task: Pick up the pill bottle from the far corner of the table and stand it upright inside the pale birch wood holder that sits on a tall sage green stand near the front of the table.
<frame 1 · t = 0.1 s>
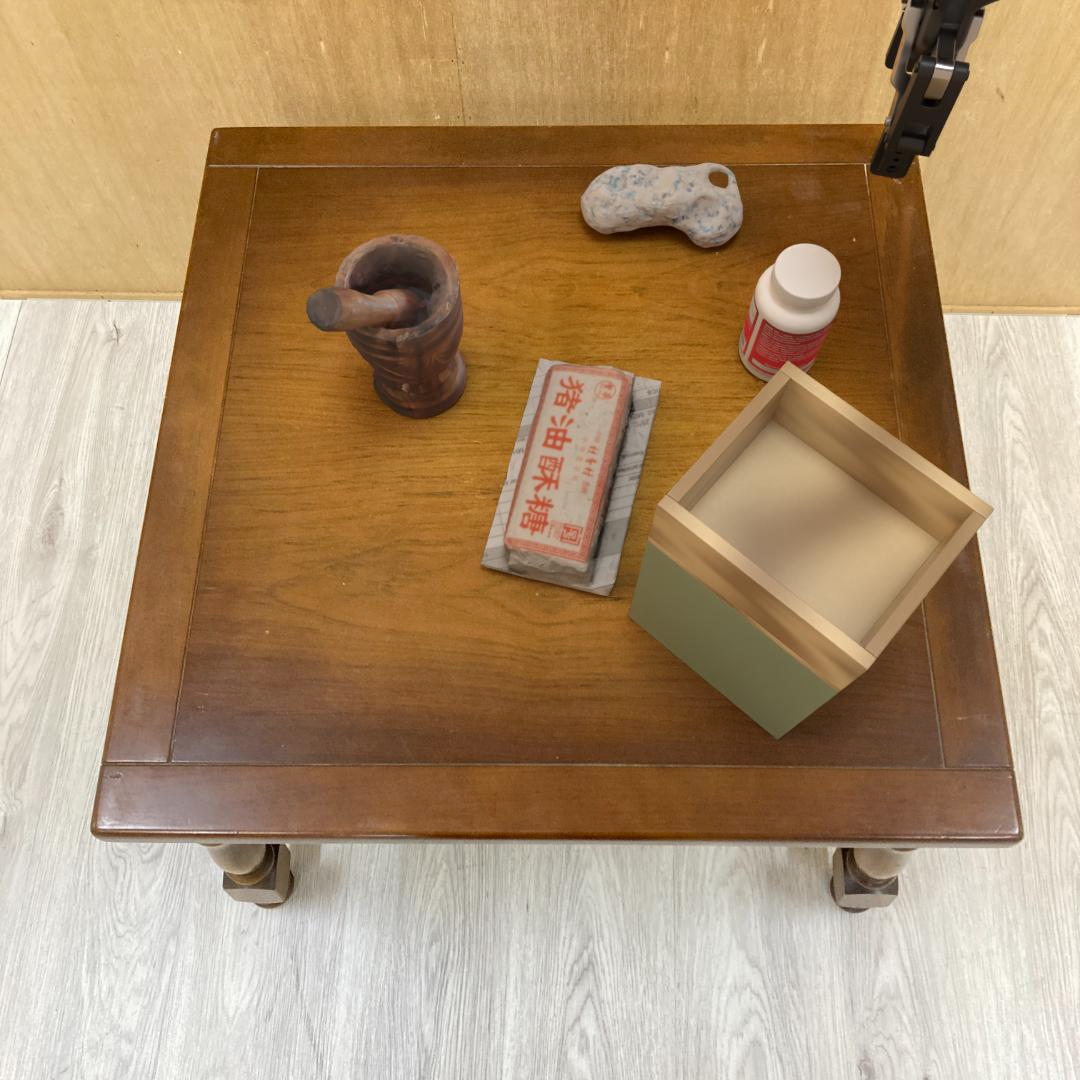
hand: (893, 118, 63), 21 cm above the table, tool pointing down, fingers open, 8 cm apart
decorative stone: (659, 225, 87), on the table
holder: (801, 542, 59), resting on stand
pill bottle: (774, 353, 82), on the table
packaged product: (574, 478, 78), on the table
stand: (750, 618, 74), on the table
mortar and pestle: (416, 397, 81), on the table
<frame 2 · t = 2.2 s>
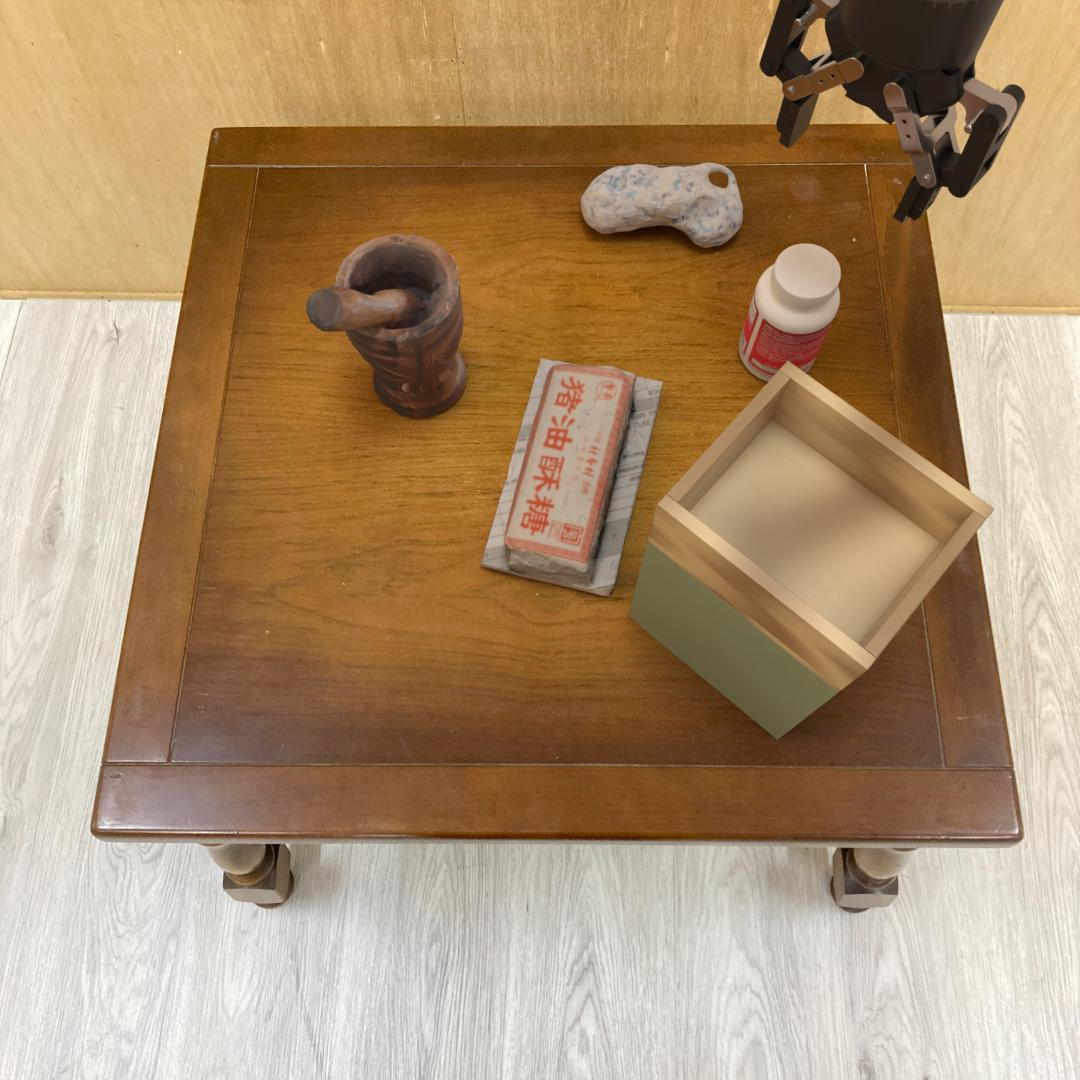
hand: (848, 174, 63), 21 cm above the table, tool pointing down, fingers open, 8 cm apart
nothing on the table moved.
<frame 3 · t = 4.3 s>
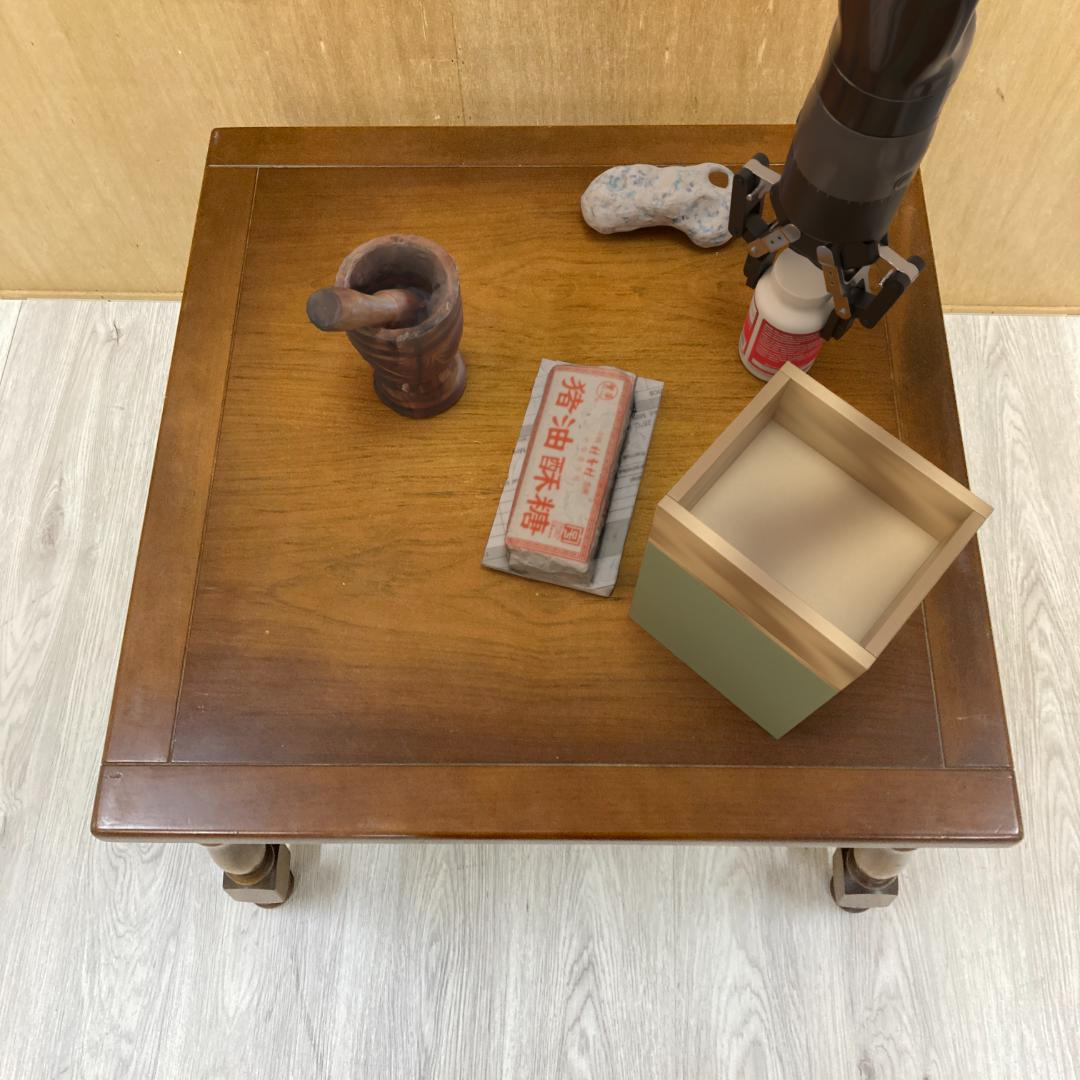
hand: (793, 305, 76), 7 cm above the table, tool pointing down, fingers closed on pill bottle, 6 cm apart
pill bottle: (774, 353, 82), on the table, touching gripper
everything else where it was.
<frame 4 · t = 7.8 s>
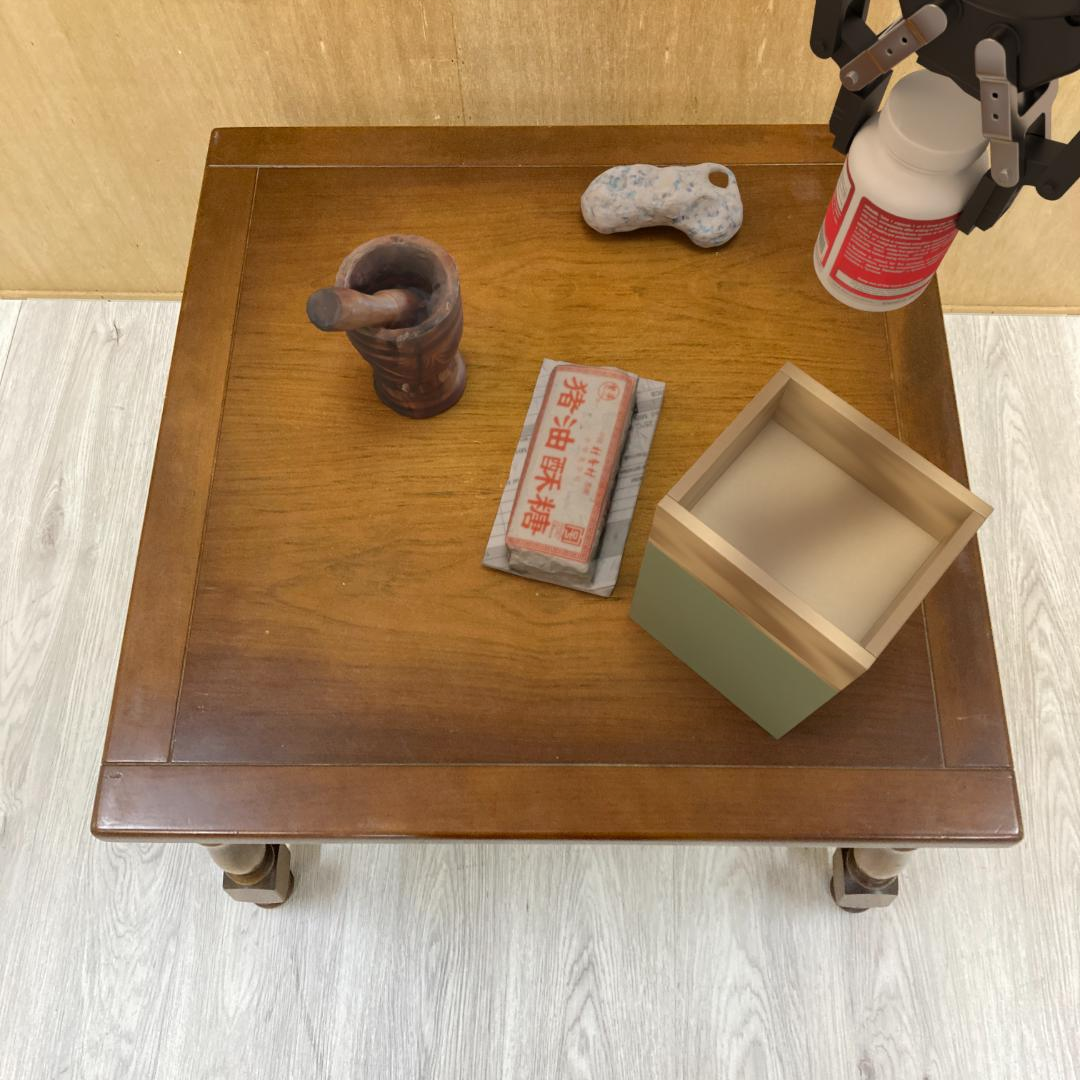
hand: (909, 179, 47), 33 cm above the table, tool pointing down, fingers closed on pill bottle, 6 cm apart
pill bottle: (868, 268, 54), point 26 cm above the table, touching gripper
everything else where it was.
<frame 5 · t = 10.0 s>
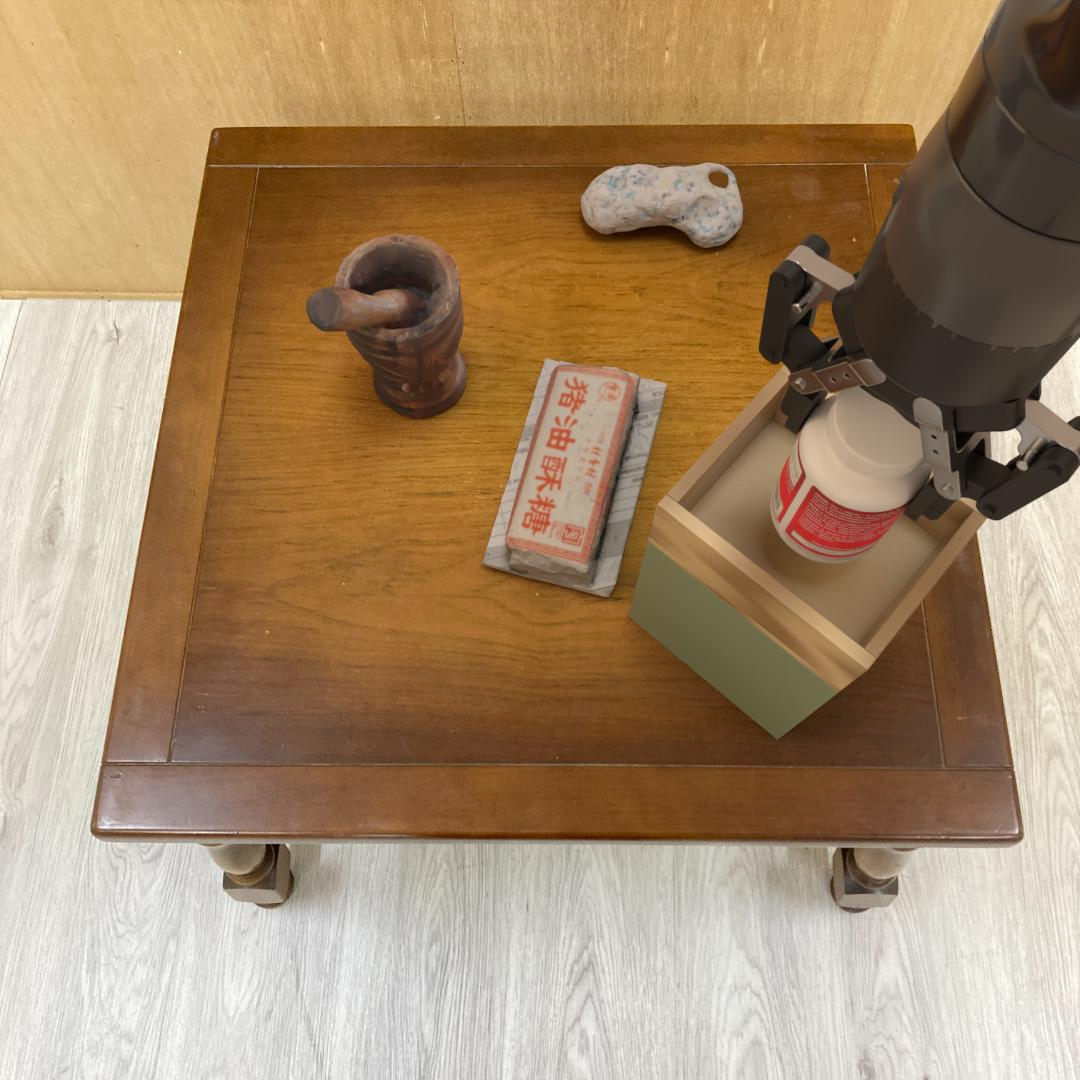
hand: (859, 459, 48), 28 cm above the table, tool pointing down, fingers closed on pill bottle, 6 cm apart
pill bottle: (824, 514, 55), point 21 cm above the table, touching gripper
everything else where it was.
when the fingers open (23 cm above the table, at t = 11.7 s): pill bottle stays where it is, resting on holder.
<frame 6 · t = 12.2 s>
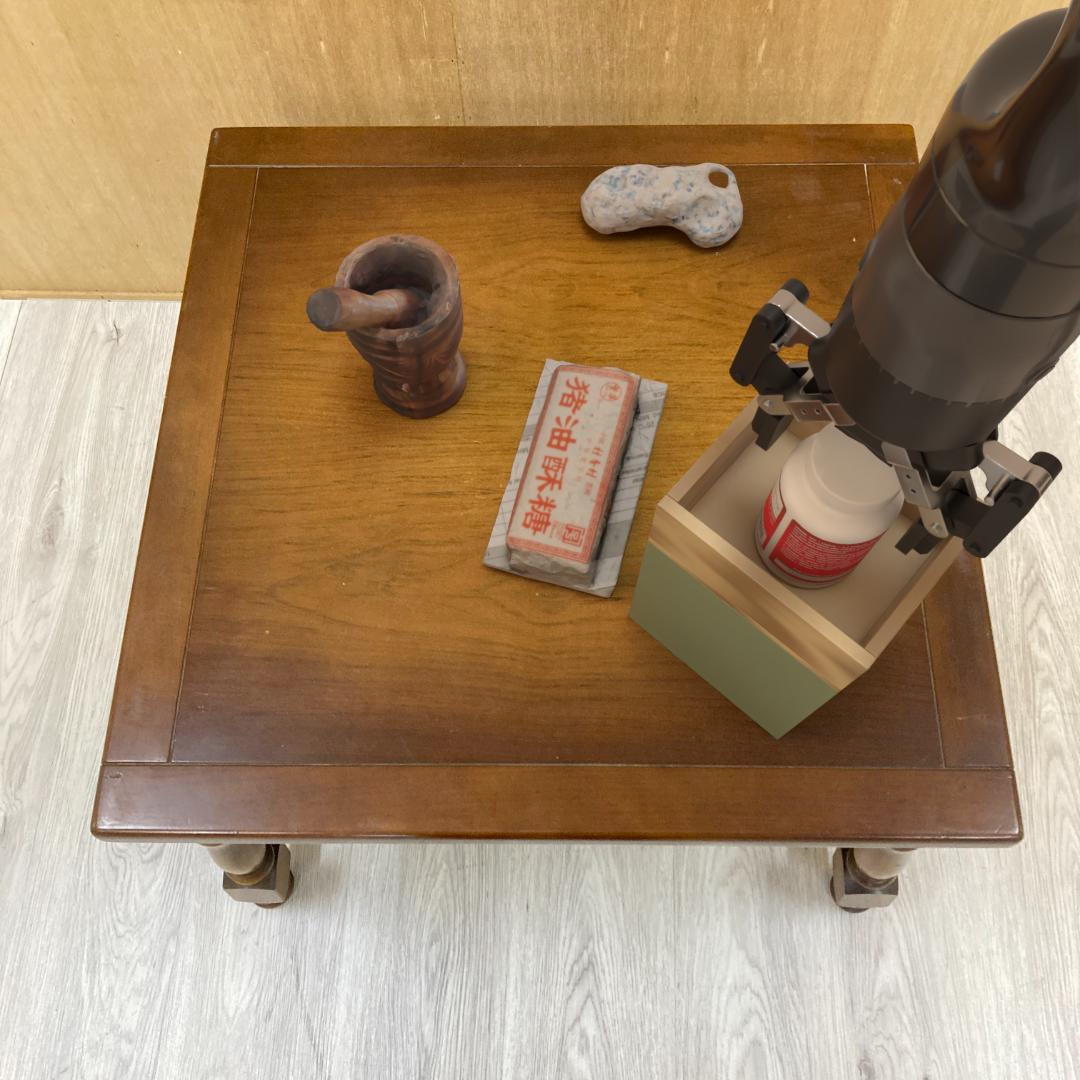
hand: (839, 485, 51), 24 cm above the table, tool pointing down, fingers open, 8 cm apart
pill bottle: (805, 541, 59), point 16 cm above the table, touching holder
everything else where it was.
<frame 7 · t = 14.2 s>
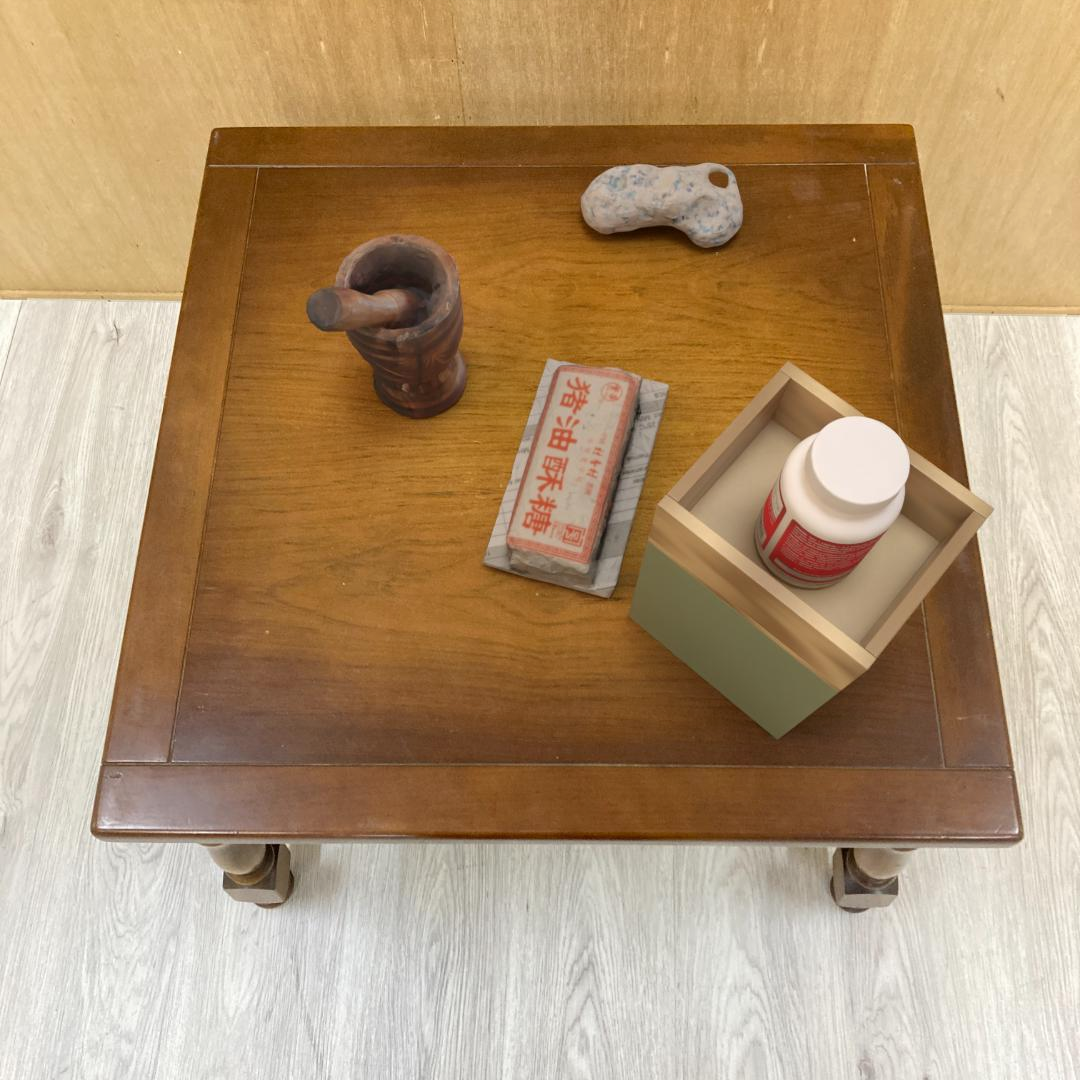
nothing on the table moved.
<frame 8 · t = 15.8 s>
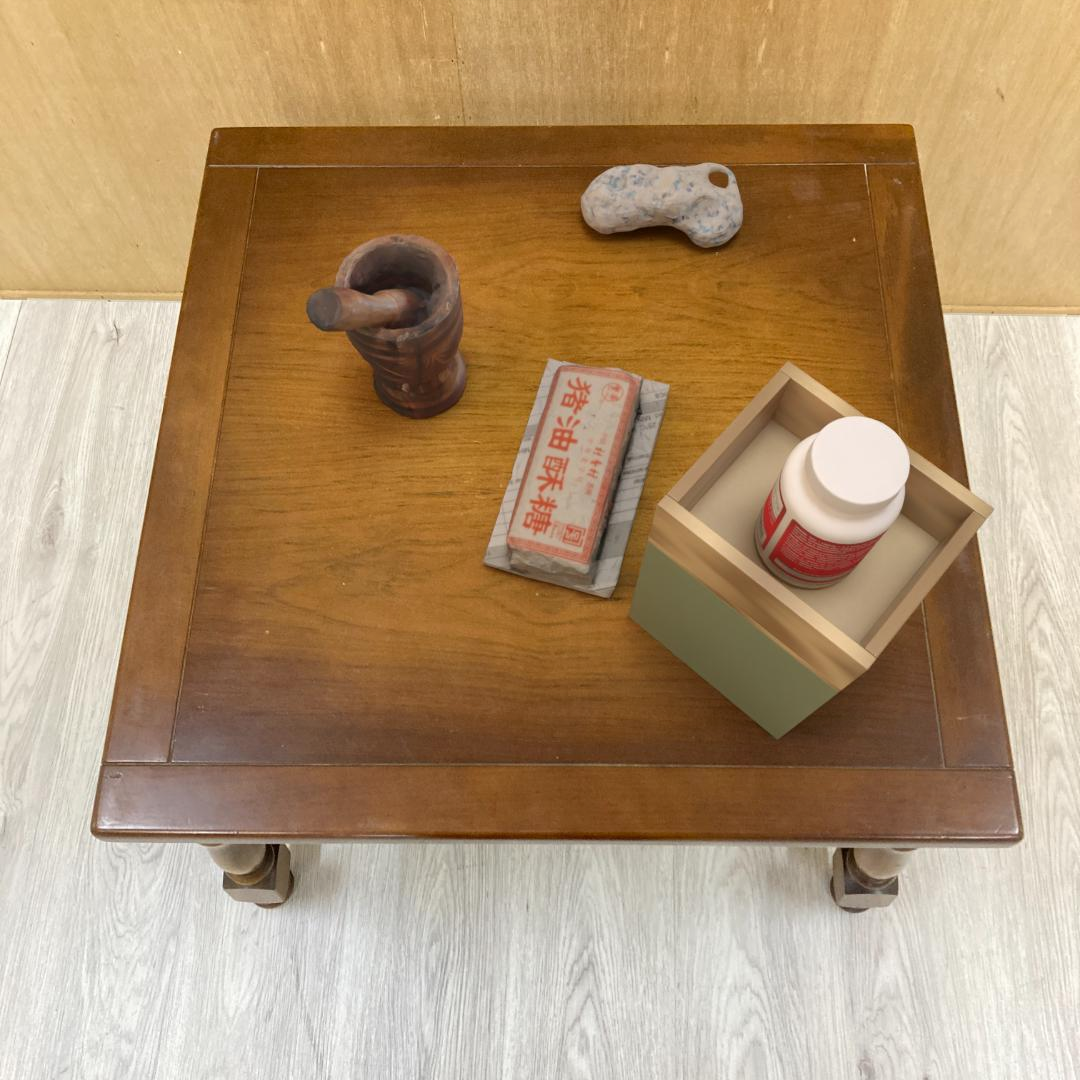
nothing on the table moved.
at the end: pill bottle inside the target area on the holder (0.2 cm from its centre), point 0.4 cm above the holder's base; pill bottle tilted 0°; the gripper is holding nothing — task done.
